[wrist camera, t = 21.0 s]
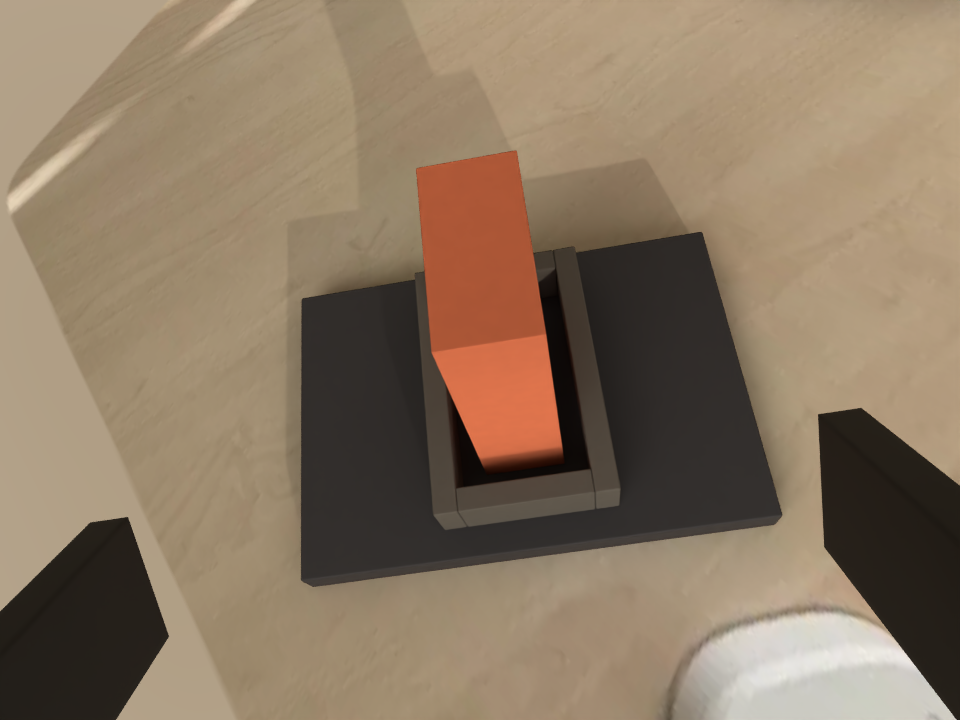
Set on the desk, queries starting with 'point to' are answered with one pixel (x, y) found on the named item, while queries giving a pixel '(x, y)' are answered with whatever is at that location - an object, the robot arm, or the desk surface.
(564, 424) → the socket base
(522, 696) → the desk surface
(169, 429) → the desk surface
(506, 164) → the orange rectangular block
